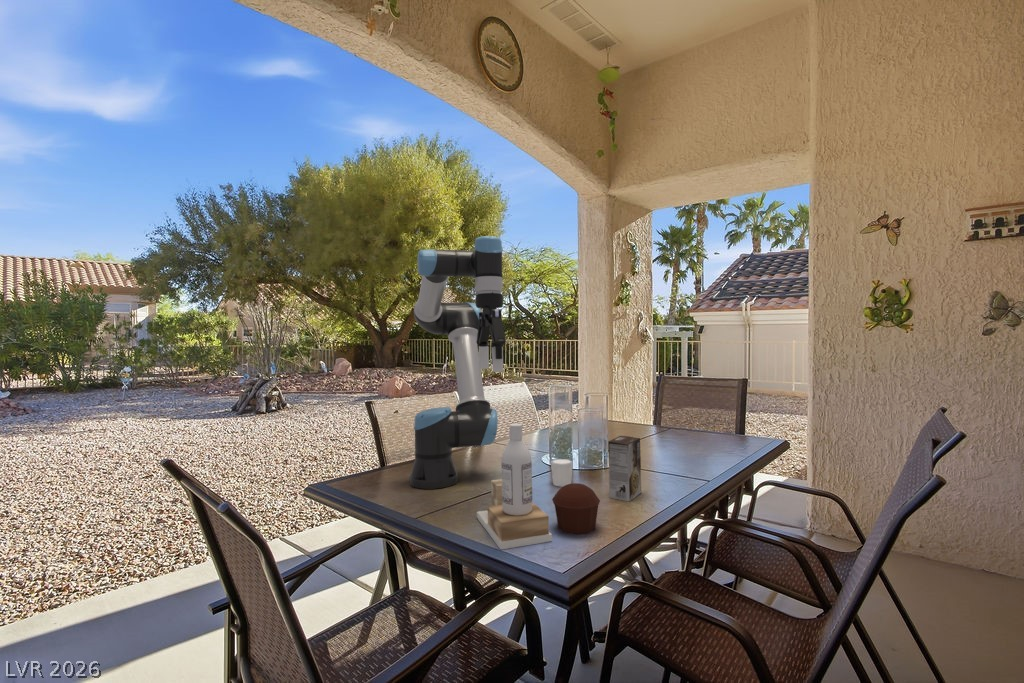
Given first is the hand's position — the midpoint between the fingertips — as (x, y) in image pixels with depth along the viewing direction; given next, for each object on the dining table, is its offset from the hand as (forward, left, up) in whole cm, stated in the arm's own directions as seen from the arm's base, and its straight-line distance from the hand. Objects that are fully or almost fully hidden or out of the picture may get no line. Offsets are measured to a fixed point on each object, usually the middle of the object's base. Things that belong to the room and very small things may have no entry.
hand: (490, 370), depth 133 cm
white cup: (-9, +25, -37) cm, 45 cm away
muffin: (+24, +14, -37) cm, 46 cm away
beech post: (+13, -1, -35) cm, 38 cm away
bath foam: (+23, -1, -31) cm, 39 cm away
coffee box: (+8, +37, -37) cm, 53 cm away
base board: (+19, -1, -37) cm, 41 cm away
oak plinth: (+23, -1, -35) cm, 42 cm away
